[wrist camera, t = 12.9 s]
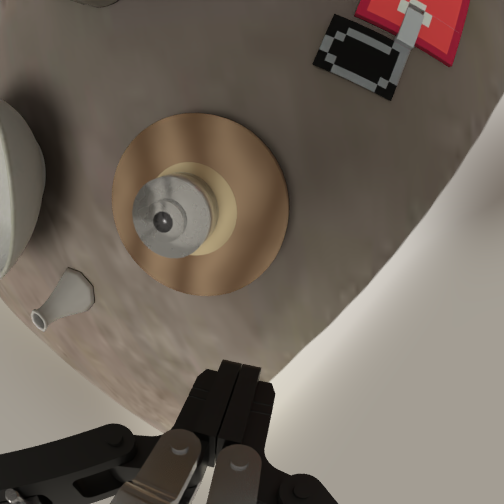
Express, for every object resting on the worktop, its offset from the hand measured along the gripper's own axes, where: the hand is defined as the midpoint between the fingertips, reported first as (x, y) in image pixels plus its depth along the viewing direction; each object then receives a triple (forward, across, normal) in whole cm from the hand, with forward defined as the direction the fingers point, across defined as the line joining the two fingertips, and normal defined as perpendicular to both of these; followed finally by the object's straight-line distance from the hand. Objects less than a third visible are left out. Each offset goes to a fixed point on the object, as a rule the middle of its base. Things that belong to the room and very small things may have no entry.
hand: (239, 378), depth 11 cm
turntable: (+23, +10, 0) cm, 25 cm away
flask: (+23, +30, +16) cm, 41 cm away
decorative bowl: (+23, +41, -2) cm, 47 cm away
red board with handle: (+24, -10, -30) cm, 39 cm away
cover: (+20, +11, 0) cm, 23 cm away
